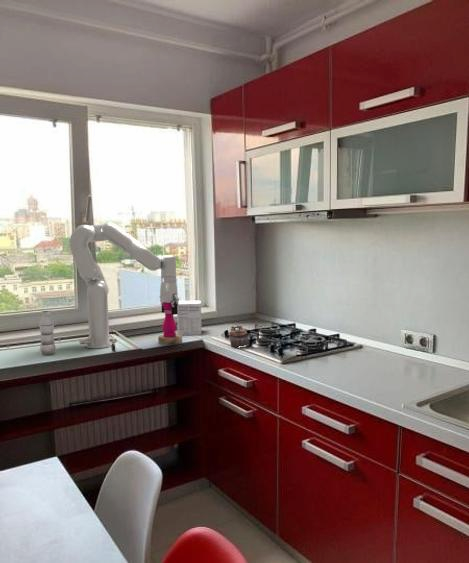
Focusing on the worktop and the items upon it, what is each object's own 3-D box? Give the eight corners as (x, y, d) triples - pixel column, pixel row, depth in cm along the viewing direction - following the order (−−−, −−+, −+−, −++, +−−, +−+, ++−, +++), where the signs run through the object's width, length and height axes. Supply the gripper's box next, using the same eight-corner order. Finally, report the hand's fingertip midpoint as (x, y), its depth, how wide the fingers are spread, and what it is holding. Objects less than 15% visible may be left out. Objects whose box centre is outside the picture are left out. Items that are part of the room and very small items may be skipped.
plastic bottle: (49, 356, 209) (47, 312, 207) (37, 355, 211) (34, 312, 209) (59, 353, 215) (57, 310, 213) (47, 352, 217) (45, 310, 216)
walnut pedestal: (166, 345, 228) (165, 339, 228) (154, 341, 237) (154, 336, 237) (186, 342, 235) (186, 336, 235) (174, 338, 245) (174, 333, 244)
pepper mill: (179, 335, 237) (178, 296, 235) (170, 338, 231) (169, 298, 229) (168, 334, 241) (167, 296, 239) (159, 336, 235) (158, 297, 233)
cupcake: (240, 349, 218) (240, 328, 217) (225, 346, 224) (224, 326, 223) (253, 345, 225) (252, 325, 224) (237, 343, 231) (237, 323, 230)
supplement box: (201, 334, 254) (200, 303, 253) (177, 335, 253) (176, 303, 252) (201, 330, 267) (201, 300, 266) (178, 331, 266) (177, 300, 265)
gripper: (153, 279, 238) (154, 312, 239) (171, 281, 225) (172, 316, 226) (166, 278, 243) (167, 310, 244) (184, 280, 229) (185, 314, 231)
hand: (169, 313), depth 235 cm, fingers open, 9 cm apart
